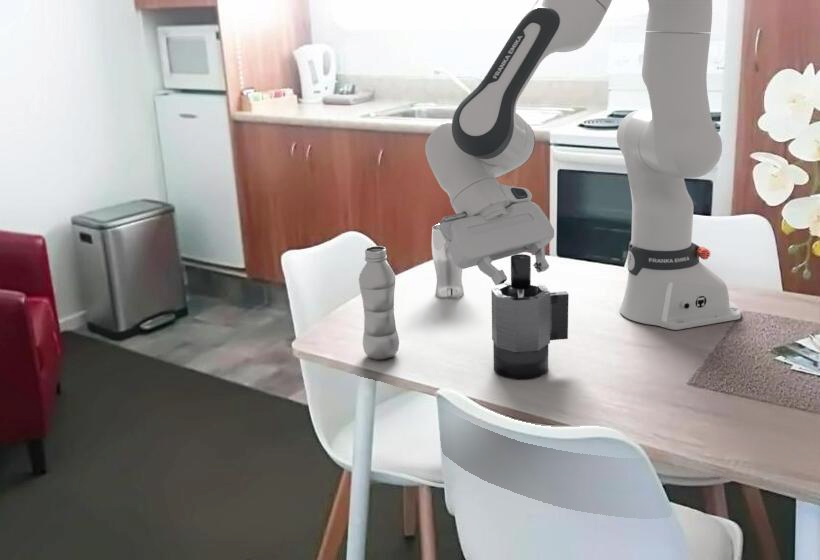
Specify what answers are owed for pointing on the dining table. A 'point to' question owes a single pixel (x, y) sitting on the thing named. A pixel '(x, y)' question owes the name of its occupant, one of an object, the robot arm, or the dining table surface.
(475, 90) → the robot arm
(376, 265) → the plastic bottle
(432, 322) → the dining table surface
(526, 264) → the plunger
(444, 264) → the beer glass
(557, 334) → the press carafe
